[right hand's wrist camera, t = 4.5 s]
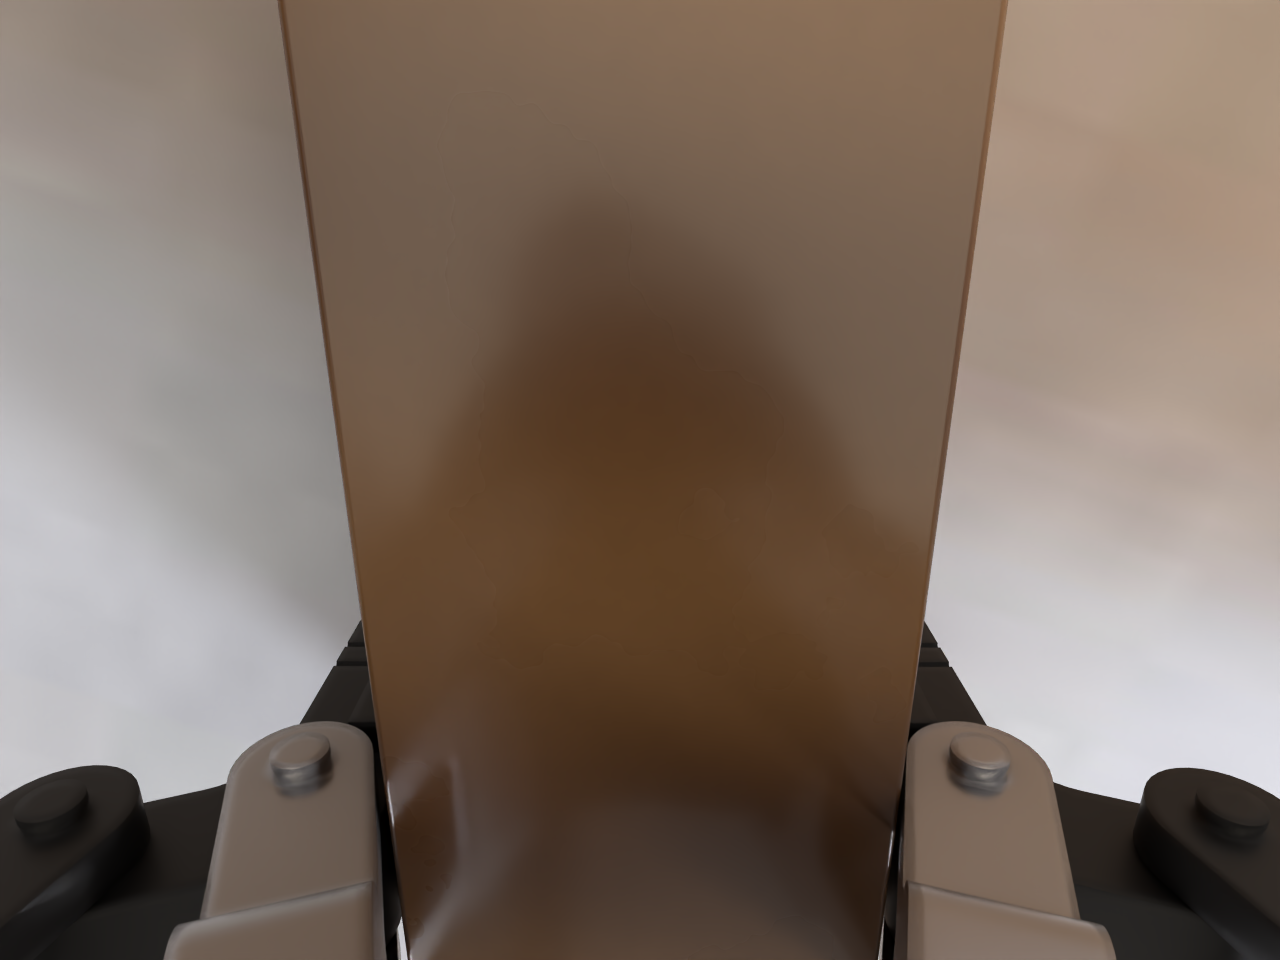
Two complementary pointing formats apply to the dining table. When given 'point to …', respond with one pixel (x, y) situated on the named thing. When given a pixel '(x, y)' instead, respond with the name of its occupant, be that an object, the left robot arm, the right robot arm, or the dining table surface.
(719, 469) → the beam
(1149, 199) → the dining table surface
